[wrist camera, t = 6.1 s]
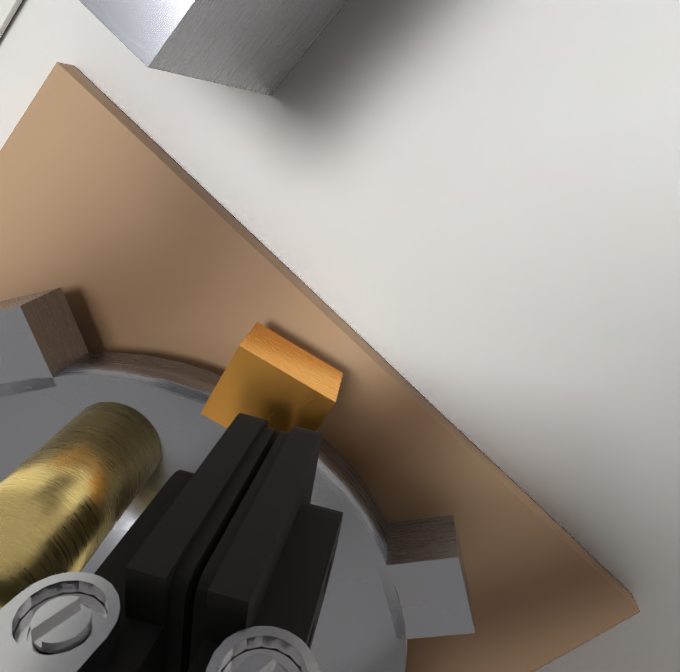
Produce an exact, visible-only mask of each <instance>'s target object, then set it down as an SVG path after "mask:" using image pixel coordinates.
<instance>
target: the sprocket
mask: <svg viewBox="0 0 680 672" xmlns="http://www.w3.org/2000/svg"><path fill="white" fill-rule="evenodd" d="M342 375H343V373H342V372H340V371H339V370H337V369H335V368H334V367H332V366H330V365H329V364H327V363H325V362H324V361H322V360H320V359H319V358H317V357H315V356H313V355H312V354H310V353H308V352H307V351H305V350H303V349H302V348H300V347H298V346H297V345H295V344H293V343H292V342H290V341H288V340H287V339H285V338H283V337H282V336H280V335H278V334H277V333H275V332H273V331H272V330H270V329H268V328H267V327H265V326H263V325H262V324H260V323H258V322H257V323H256V324H255V325H254V327H253V328H252V329H251V331H250V332H249V333H248V335H247V336H246V337H245V338H244V340H243V341H242V342H241V344H240V345H239V347H238V348H237V350H236V352H235V354H234V355H233V357H232V359H231V361H230V362H229V364H228V366H227V368H226V369H225V371H224V373H223V374H222V375H219V374H216V373H213V372H210V371H207V370H204V369H201V368H198V367H195V366H192V365H189V364H186V363H183V362H178V361H173V360H168V359H163V358H158V357H153V356H148V355H143V354H131V353H118V352H106V351H105V352H88V350H87V347H86V345H85V343H84V340H83V338H82V335H81V333H80V331H79V328H78V326H77V324H76V321H75V319H74V317H73V314H72V312H71V310H70V307H69V305H68V303H67V300H66V298H65V296H64V293H63V291H62V288H61V287H58V288H54V289H50V290H46V291H41V292H37V293H33V294H29V295H25V296H20V297H16V298H12V299H8V300H3V301H0V609H2V608H3V607H4V606H5V605H6V604H7V603H8V602H10V601H11V600H12V599H13V598H14V597H15V596H17V595H18V594H19V593H20V592H22V591H23V590H25V589H26V588H28V587H29V586H30V585H32V584H33V583H35V582H38V581H40V580H42V579H45V578H47V577H49V576H52V575H56V574H61V573H66V572H88V573H91V574H94V573H95V572H96V570H97V569H98V568H99V567H100V565H101V564H102V563H103V562H104V560H105V559H106V558H107V557H108V555H109V554H110V553H111V551H112V550H113V549H114V548H115V546H116V545H117V544H118V543H119V541H120V540H121V539H122V538H123V536H124V535H125V534H126V533H127V531H128V530H129V529H130V527H131V526H132V525H133V524H134V522H135V521H136V520H137V519H138V517H139V516H140V515H141V514H142V512H143V511H144V510H145V509H146V507H147V506H148V505H149V503H150V502H151V501H152V500H153V498H154V497H155V496H156V495H157V493H158V492H159V491H160V490H161V488H162V487H163V486H164V485H165V483H166V482H167V481H168V479H169V478H170V477H171V476H172V475H173V474H174V473H175V472H176V471H178V470H184V471H188V472H191V473H195V472H196V471H197V469H198V468H199V466H200V465H201V464H202V462H203V461H204V460H205V458H206V457H207V456H208V454H209V453H210V451H211V450H212V449H213V447H214V446H215V445H216V443H217V442H218V441H219V439H220V438H221V436H222V435H223V434H224V432H225V431H226V430H227V428H228V427H229V426H230V424H231V423H232V421H233V420H234V419H235V417H236V416H237V415H238V414H239V413H243V414H247V415H251V416H255V417H259V418H263V419H267V420H268V424H269V426H268V428H272V429H276V431H277V437H278V435H279V433H280V432H281V431H284V432H288V433H290V431H291V429H292V428H293V427H294V426H296V427H300V428H304V429H308V430H312V431H316V430H317V429H318V427H319V426H320V424H321V423H322V421H323V420H324V419H325V417H326V416H327V414H328V413H329V411H330V410H331V408H332V407H333V405H334V404H335V403H336V399H337V395H338V391H339V387H340V383H341V379H342ZM277 437H276V438H277ZM310 504H314V505H317V506H321V507H325V508H329V509H333V510H337V511H340V512H343V518H342V523H341V528H340V533H339V538H338V543H337V548H336V552H335V557H334V561H333V565H332V569H331V573H330V578H329V582H328V585H327V589H326V593H325V597H324V601H323V604H322V608H321V612H320V615H319V619H318V623H317V626H316V630H315V634H314V638H313V641H312V645H311V649H310V650H311V651H312V652H313V655H314V657H315V660H316V662H317V664H318V667H319V672H405V667H406V658H407V639H414V638H425V637H436V636H448V635H459V634H470V633H475V628H474V621H473V614H472V606H471V599H470V592H469V585H468V580H467V576H466V571H465V566H464V562H463V557H462V553H461V548H460V543H459V539H458V534H457V530H456V525H455V520H454V516H453V515H449V516H441V517H433V518H426V519H418V520H410V521H402V522H395V523H388V522H387V519H386V518H385V516H384V514H383V512H382V511H381V509H380V507H379V505H378V504H377V502H376V500H375V499H374V497H373V495H372V493H371V492H370V490H369V489H368V488H367V486H366V485H365V484H364V483H363V481H362V480H361V479H360V477H359V476H358V475H357V474H356V472H355V471H354V470H353V468H352V467H351V466H350V465H349V463H348V462H347V461H346V460H345V459H344V458H343V457H342V456H341V455H340V454H339V453H338V452H337V451H336V450H335V449H334V448H333V447H332V446H331V445H330V444H329V443H328V442H327V441H326V440H325V439H324V438H323V437H322V439H321V446H320V451H319V457H318V463H317V468H316V474H315V480H314V486H313V491H312V497H311V503H310Z"/></svg>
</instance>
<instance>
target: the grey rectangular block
mask: <svg viewBox="0 0 680 672" xmlns="http://www.w3.org/2000/svg"><path fill="white" fill-rule="evenodd" d="M79 1H80V2H81V3H82V4H83V5H84V6H85V7H86V8H87V9H89V10H90V11H91V12H92V13H93V14H94V15H95V16H96V17H97V18H98V19H99V20H100V21H101V22H102V23H103V24H104V25H105V26H106V27H107V28H108V29H109V30H110V31H111V32H112V33H113V34H114V35H115V36H116V37H117V38H118V39H119V40H120V41H121V42H122V43H123V44H124V45H125V46H126V47H127V48H128V49H130V50H131V51H132V52H133V53H134V54H135V55H136V56H137V57H138V58H139V59H140V60H141V61H142V62H143V63H144V64H145V65H146V66H147V67H149V68H154V69H158V70H162V71H167V72H171V73H175V74H180V75H184V76H188V77H193V78H197V79H201V80H206V81H210V82H214V83H219V84H223V85H227V86H232V87H236V88H240V89H245V90H249V91H253V92H258V93H262V94H266V95H271V94H272V92H273V91H274V90H275V89H276V87H277V86H278V85H279V84H280V83H281V81H282V80H283V79H284V78H285V76H286V75H287V74H288V73H289V72H290V70H291V69H292V68H293V67H294V65H295V64H296V63H297V62H298V60H299V59H300V58H301V57H302V56H303V54H304V53H305V52H306V51H307V49H308V48H309V47H310V46H311V45H312V43H313V42H314V41H315V40H316V38H317V37H318V36H319V35H320V34H321V32H322V31H323V30H324V29H325V27H326V26H327V25H328V24H329V23H330V21H331V20H332V19H333V18H334V16H335V15H336V14H337V13H338V12H339V10H340V9H341V8H342V7H343V5H344V4H345V3H346V2H347V0H79Z"/></svg>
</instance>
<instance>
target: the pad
mask: <svg viewBox="0 0 680 672" xmlns="http://www.w3.org/2000/svg"><path fill="white" fill-rule="evenodd" d="M21 2H22V0H0V38H1V36H2V34H3V33H4V31H5V29H6V28H7V26H8V24H9V23H10V21H11V19H12V17H13V16H14V14H15V12H16V11H17V9H18V7H19V6H20V4H21Z"/></svg>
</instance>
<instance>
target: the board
mask: <svg viewBox="0 0 680 672" xmlns="http://www.w3.org/2000/svg"><path fill="white" fill-rule="evenodd" d="M58 287H61V288H62V291H63V293H64V296H65V298H66V300H67V303H68V305H69V307H70V310H71V312H72V314H73V317H74V319H75V321H76V324H77V326H78V328H79V331H80V333H81V335H82V338H83V340H84V343H85V345H86V347H87V350H88V352H105V351H106V352H118V353H131V354H143V355H148V356H153V357H158V358H163V359H168V360H173V361H178V362H183V363H186V364H189V365H192V366H195V367H198V368H201V369H204V370H207V371H210V372H213V373H216V374H219V375H222V374H223V373H224V371H225V369H226V368H227V366H228V364H229V362H230V361H231V359H232V357H233V355H234V354H235V352H236V350H237V348H238V347H239V345H240V344H241V342H242V341H243V340H244V338H245V337H246V336H247V335H248V333H249V332H250V331H251V329H252V328H253V327H254V325H255V324H256V323H257V322H258V323H260V324H262V325H263V326H265V327H267V328H268V329H270V330H272V331H273V332H275V333H277V334H278V335H280V336H282V337H283V338H285V339H287V340H288V341H290V342H292V343H293V344H295V345H297V346H298V347H300V348H302V349H303V350H305V351H307V352H308V353H310V354H312V355H313V356H315V357H317V358H319V359H320V360H322V361H324V362H325V363H327V364H329V365H330V366H332V367H334V368H335V369H337V370H339V371H340V372H342V373H343V375H342V379H341V383H340V387H339V391H338V395H337V399H336V403H335V404H334V405H333V407H332V408H331V410H330V411H329V413H328V414H327V416H326V417H325V419H324V420H323V421H322V423H321V424H320V426H319V427H318V429H317V430H316V432H320V433H322V437H323V438H324V439H325V440H326V441H327V442H328V443H329V444H330V445H331V446H332V447H333V448H334V449H335V450H336V451H337V452H338V453H339V454H340V455H341V456H342V457H343V458H344V459H345V460H346V461H347V462H348V463H349V465H350V466H351V467H352V468H353V470H354V471H355V472H356V474H357V475H358V476H359V477H360V479H361V480H362V481H363V483H364V484H365V485H366V486H367V488H368V489H369V490H370V492H371V493H372V495H373V497H374V499H375V500H376V502H377V504H378V505H379V507H380V509H381V511H382V512H383V514H384V516H385V518H386V519H387V522H388V523H395V522H402V521H410V520H418V519H426V518H433V517H441V516H449V515H453V516H454V520H455V525H456V530H457V534H458V539H459V543H460V548H461V553H462V557H463V562H464V566H465V571H466V576H467V580H468V585H469V592H470V599H471V606H472V614H473V621H474V628H475V633H470V634H459V635H448V636H436V637H425V638H414V639H407V658H406V667H405V672H534V671H535V670H537V669H539V668H541V667H542V666H544V665H546V664H548V663H550V662H551V661H553V660H555V659H557V658H558V657H560V656H562V655H564V654H566V653H567V652H569V651H571V650H573V649H574V648H576V647H578V646H580V645H582V644H583V643H585V642H587V641H589V640H590V639H592V638H594V637H596V636H598V635H599V634H601V633H603V632H605V631H606V630H608V629H610V628H612V627H614V626H615V625H617V624H619V623H621V622H622V621H624V620H626V619H628V618H630V617H631V616H633V615H635V614H637V613H638V612H640V610H639V608H638V606H637V604H636V602H635V600H634V598H633V596H632V594H631V593H630V592H629V591H628V590H627V589H626V588H625V587H624V586H623V585H622V584H621V583H620V582H619V581H618V580H617V579H615V578H614V577H613V576H612V575H611V574H610V573H609V572H608V571H607V570H606V569H605V568H604V567H603V566H602V565H601V564H600V563H599V562H598V561H596V560H595V559H594V558H593V557H592V556H591V555H590V554H589V553H588V552H587V551H586V550H585V549H584V548H583V547H582V546H581V545H580V544H578V543H577V542H576V541H575V540H574V539H573V538H572V537H571V536H570V535H569V534H568V533H567V532H566V531H565V530H564V529H563V528H562V527H561V526H559V525H558V524H557V523H556V522H555V521H554V520H553V519H552V518H551V517H550V516H549V515H548V514H547V513H546V512H545V511H544V510H543V509H542V508H540V507H539V506H538V505H537V504H536V503H535V502H534V501H533V500H532V499H531V498H530V497H529V496H528V495H527V494H526V493H525V492H524V491H523V490H521V489H520V488H519V487H518V486H517V485H516V484H515V483H514V482H513V481H512V480H511V479H510V478H509V477H508V476H507V475H506V474H505V473H503V472H502V471H501V470H500V469H499V468H498V467H497V466H496V465H495V464H494V463H493V462H492V461H491V460H490V459H489V458H488V457H487V456H486V455H484V454H483V453H482V452H481V451H480V450H479V449H478V448H477V447H476V446H475V445H474V444H473V443H472V442H471V441H470V440H469V439H468V438H467V437H465V436H464V435H463V434H462V433H461V432H460V431H459V430H458V429H457V428H456V427H455V426H454V425H453V424H452V423H451V422H450V421H449V420H448V419H446V418H445V417H444V416H443V415H442V414H441V413H440V412H439V411H438V410H437V409H436V408H435V407H434V406H433V405H432V404H431V403H430V402H429V401H427V400H426V399H425V398H424V397H423V396H422V395H421V394H420V393H419V392H418V391H417V390H416V389H415V388H414V387H413V386H412V385H411V384H409V383H408V382H407V381H406V380H405V379H404V378H403V377H402V376H401V375H400V374H399V373H398V372H397V371H396V370H395V369H394V368H393V367H392V366H390V365H389V364H388V363H387V362H386V361H385V360H384V359H383V358H382V357H381V356H380V355H379V354H378V353H377V352H376V351H375V350H374V349H373V348H371V347H370V346H369V345H368V344H367V343H366V342H365V341H364V340H363V339H362V338H361V337H360V336H359V335H358V334H357V333H356V332H355V331H354V330H352V329H351V328H350V327H349V326H348V325H347V324H346V323H345V322H344V321H343V320H342V319H341V318H340V317H339V316H338V315H337V314H336V313H334V312H333V311H332V310H331V309H330V308H329V307H328V306H327V305H326V304H325V303H324V302H323V301H322V300H321V299H320V298H319V297H318V296H317V295H315V294H314V293H313V292H312V291H311V290H310V289H309V288H308V287H307V286H306V285H305V284H304V283H303V282H302V281H301V280H300V279H299V278H298V277H296V276H295V275H294V274H293V273H292V272H291V271H290V270H289V269H288V268H287V267H286V266H285V265H284V264H283V263H282V262H281V261H280V260H279V259H277V258H276V257H275V256H274V255H273V254H272V253H271V252H270V251H269V250H268V249H267V248H266V247H265V246H264V245H263V244H262V243H261V242H259V241H258V240H257V239H256V238H255V237H254V236H253V235H252V234H251V233H250V232H249V231H248V230H247V229H246V228H245V227H244V226H243V225H242V224H240V223H239V222H238V221H237V220H236V219H235V218H234V217H233V216H232V215H231V214H230V213H229V212H228V211H227V210H226V209H225V208H224V207H223V206H221V205H220V204H219V203H218V202H217V201H216V200H215V199H214V198H213V197H212V196H211V195H210V194H209V193H208V192H207V191H206V190H205V189H204V188H202V187H201V186H200V185H199V184H198V183H197V182H196V181H195V180H194V179H193V178H192V177H191V176H190V175H189V174H188V173H187V172H186V171H185V170H183V169H182V168H181V167H180V166H179V165H178V164H177V163H176V162H175V161H174V160H173V159H172V158H171V157H170V156H169V155H168V154H167V153H165V152H164V151H163V150H162V149H161V148H160V147H159V146H158V145H157V144H156V143H155V142H154V141H153V140H152V139H151V138H150V137H149V136H148V135H146V134H145V133H144V132H143V131H142V130H141V129H140V128H139V127H138V126H137V125H136V124H135V123H134V122H133V121H132V120H131V119H130V118H129V117H127V116H126V115H125V114H124V113H123V112H122V111H121V110H120V109H119V108H118V107H117V106H116V105H115V104H114V103H113V102H112V101H111V100H110V99H108V98H107V97H106V96H105V95H104V94H103V93H102V92H101V91H100V90H99V89H98V88H97V87H96V86H95V85H94V84H93V83H92V82H90V81H89V80H88V79H87V78H86V77H85V76H84V75H83V74H82V73H81V72H80V71H79V70H78V69H77V68H76V67H75V66H74V65H69V64H63V63H58V62H57V63H56V65H55V66H54V68H53V69H52V71H51V73H50V74H49V76H48V77H47V79H46V80H45V82H44V83H43V85H42V87H41V88H40V90H39V91H38V93H37V94H36V96H35V98H34V99H33V101H32V102H31V104H30V105H29V107H28V108H27V110H26V112H25V113H24V115H23V116H22V118H21V119H20V121H19V123H18V124H17V126H16V127H15V129H14V130H13V132H12V133H11V135H10V137H9V138H8V140H7V141H6V143H5V144H4V146H3V147H2V149H1V151H0V301H3V300H8V299H12V298H16V297H20V296H25V295H29V294H33V293H37V292H41V291H46V290H50V289H54V288H58Z"/></svg>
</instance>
